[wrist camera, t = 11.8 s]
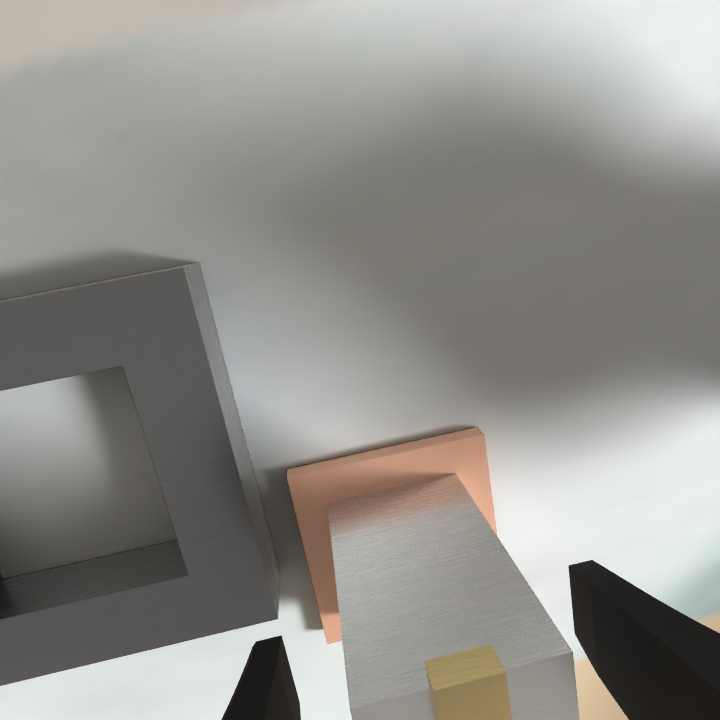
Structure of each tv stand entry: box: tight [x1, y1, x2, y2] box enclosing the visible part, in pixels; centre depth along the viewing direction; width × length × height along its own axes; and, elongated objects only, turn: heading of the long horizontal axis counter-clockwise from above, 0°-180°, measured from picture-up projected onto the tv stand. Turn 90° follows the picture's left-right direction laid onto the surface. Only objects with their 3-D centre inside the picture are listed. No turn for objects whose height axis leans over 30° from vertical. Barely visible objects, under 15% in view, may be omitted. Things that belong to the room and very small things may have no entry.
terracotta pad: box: [287, 427, 497, 644], centre depth 17 cm, size 6×6×1 cm
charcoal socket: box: [0, 262, 280, 686], centre depth 14 cm, size 10×10×2 cm
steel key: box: [327, 473, 579, 720], centre depth 13 cm, size 5×4×8 cm
